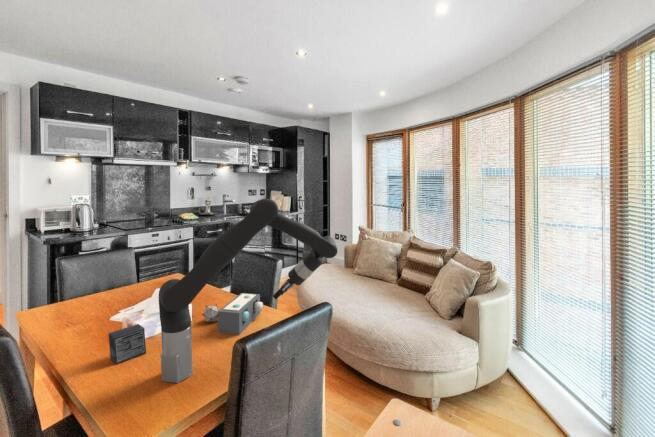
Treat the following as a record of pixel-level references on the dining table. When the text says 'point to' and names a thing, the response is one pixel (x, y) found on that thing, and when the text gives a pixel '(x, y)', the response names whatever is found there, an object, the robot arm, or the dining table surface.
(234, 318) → the console
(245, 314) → the teal button
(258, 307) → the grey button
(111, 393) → the dining table surface
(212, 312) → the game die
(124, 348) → the small box
